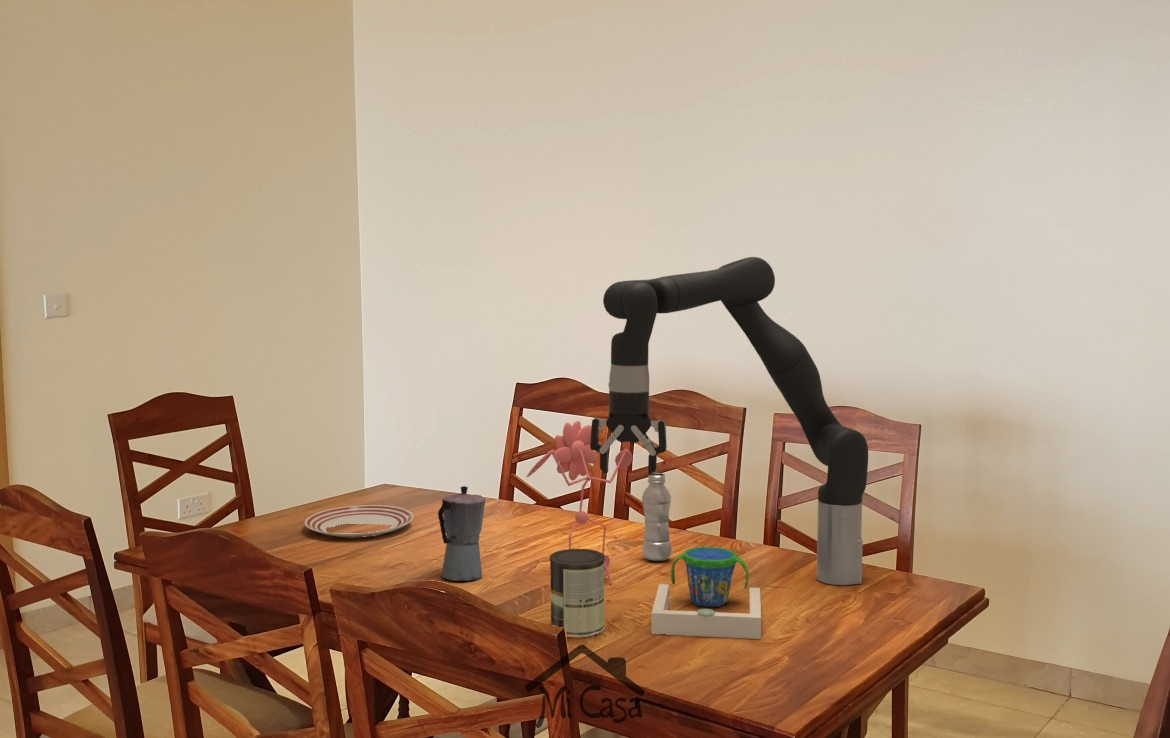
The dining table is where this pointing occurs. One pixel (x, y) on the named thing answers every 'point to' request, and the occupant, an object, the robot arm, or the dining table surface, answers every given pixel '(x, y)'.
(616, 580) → the dining table surface
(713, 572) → the snack cup
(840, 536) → the robot arm
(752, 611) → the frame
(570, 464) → the figurine
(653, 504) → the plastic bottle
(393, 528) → the dinner plate
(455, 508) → the moka pot
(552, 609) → the coffee can
